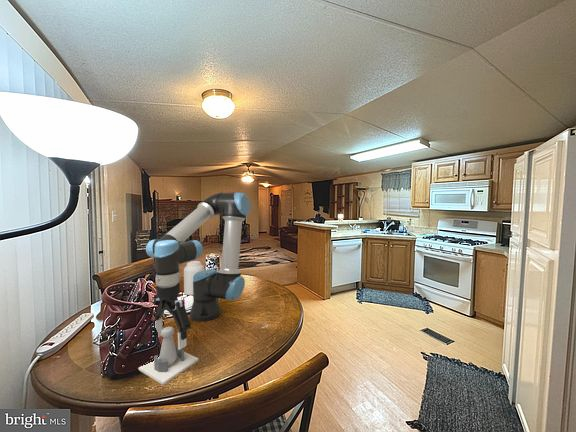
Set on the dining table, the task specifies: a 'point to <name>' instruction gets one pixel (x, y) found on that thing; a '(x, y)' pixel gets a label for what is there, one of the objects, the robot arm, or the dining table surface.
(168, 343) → the salt shaker
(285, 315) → the dining table surface
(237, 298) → the robot arm
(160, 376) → the square base with blocks
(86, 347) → the dining table surface
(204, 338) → the dining table surface
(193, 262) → the can
